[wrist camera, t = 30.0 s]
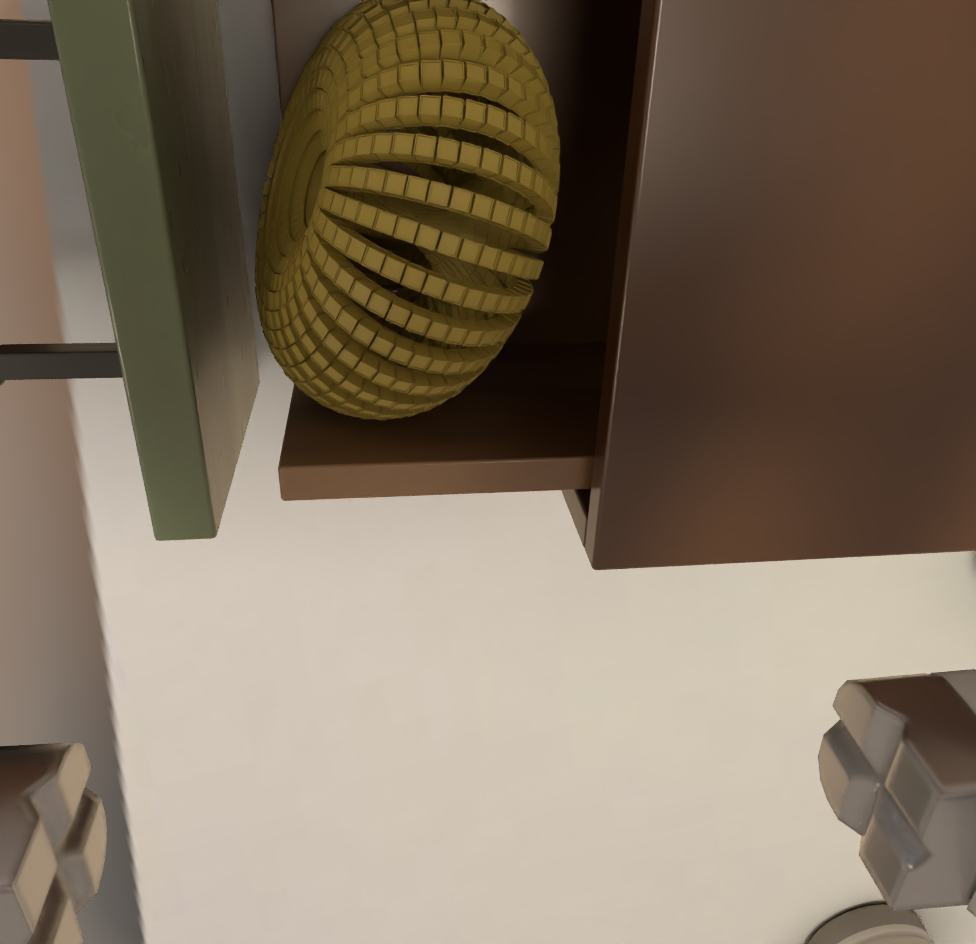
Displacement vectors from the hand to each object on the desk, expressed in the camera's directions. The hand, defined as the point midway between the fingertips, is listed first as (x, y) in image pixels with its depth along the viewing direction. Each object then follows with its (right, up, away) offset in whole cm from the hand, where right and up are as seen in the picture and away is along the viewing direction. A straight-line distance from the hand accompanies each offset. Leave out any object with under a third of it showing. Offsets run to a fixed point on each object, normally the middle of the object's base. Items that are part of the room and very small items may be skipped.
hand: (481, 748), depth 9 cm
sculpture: (-3, +11, +10) cm, 15 cm away
